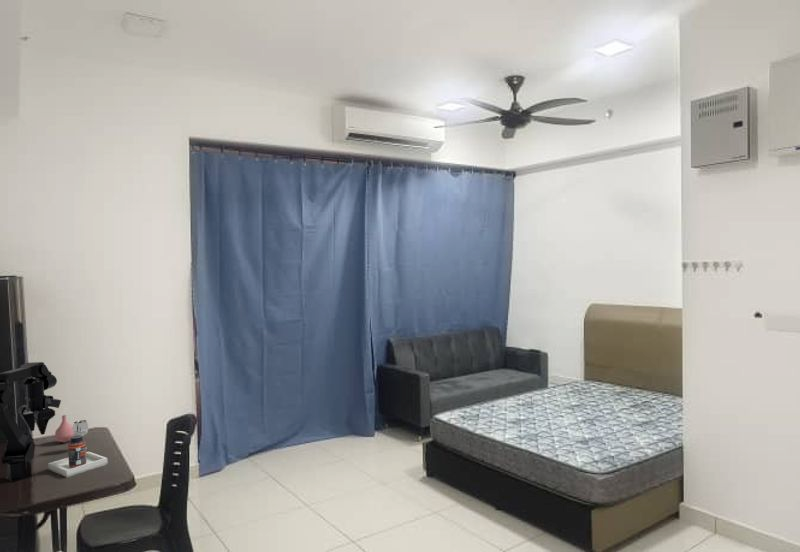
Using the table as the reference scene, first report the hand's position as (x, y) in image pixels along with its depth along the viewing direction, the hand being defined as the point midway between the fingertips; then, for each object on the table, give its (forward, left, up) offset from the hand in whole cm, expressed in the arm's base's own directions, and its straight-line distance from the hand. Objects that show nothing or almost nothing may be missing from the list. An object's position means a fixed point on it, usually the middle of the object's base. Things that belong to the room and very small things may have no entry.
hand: (37, 432), depth 215 cm
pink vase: (+19, +21, -13) cm, 31 cm away
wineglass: (+18, +4, -13) cm, 23 cm away
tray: (+7, -17, -13) cm, 22 cm away
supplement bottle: (+7, -17, -12) cm, 22 cm away
